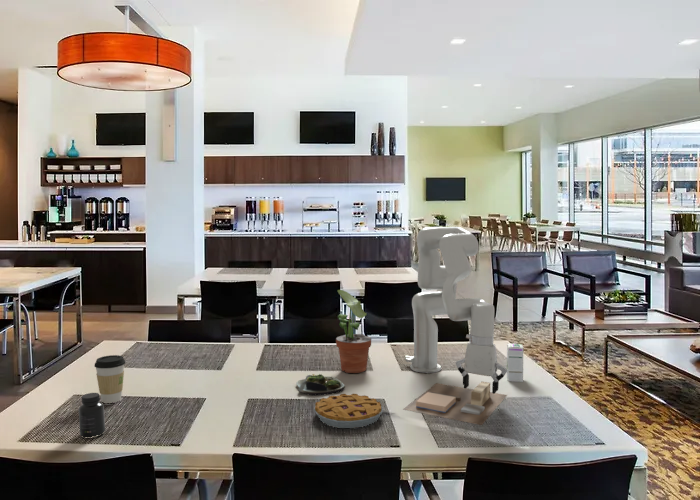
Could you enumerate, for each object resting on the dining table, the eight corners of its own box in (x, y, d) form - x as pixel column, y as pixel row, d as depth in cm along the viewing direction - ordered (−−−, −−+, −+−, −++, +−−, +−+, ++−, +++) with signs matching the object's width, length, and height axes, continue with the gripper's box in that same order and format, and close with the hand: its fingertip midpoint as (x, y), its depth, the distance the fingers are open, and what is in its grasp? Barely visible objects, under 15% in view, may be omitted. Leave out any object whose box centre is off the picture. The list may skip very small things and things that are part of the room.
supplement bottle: (85, 430, 169) (83, 391, 168) (108, 429, 170) (106, 390, 169) (76, 440, 162) (74, 399, 161) (100, 439, 163) (98, 398, 162)
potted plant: (328, 374, 223) (328, 287, 220) (343, 363, 237) (343, 281, 234) (365, 378, 218) (365, 289, 214) (378, 367, 232) (378, 283, 228)
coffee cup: (133, 398, 197) (131, 356, 195) (112, 407, 187) (110, 363, 186) (110, 394, 200) (108, 353, 199) (89, 404, 191) (87, 361, 189)
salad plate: (288, 382, 215) (287, 370, 215) (332, 377, 221) (332, 365, 221) (301, 398, 197) (300, 386, 196) (349, 392, 203) (349, 380, 202)
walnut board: (402, 413, 182) (402, 406, 182) (436, 386, 208) (436, 380, 208) (481, 429, 169) (481, 421, 169) (507, 399, 195) (507, 392, 195)
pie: (332, 437, 165) (332, 420, 164) (303, 412, 184) (303, 397, 184) (395, 423, 175) (395, 407, 174) (361, 401, 194) (361, 387, 194)
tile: (427, 397, 192) (416, 407, 184) (427, 392, 192) (416, 401, 184) (455, 402, 187) (445, 412, 179) (455, 397, 187) (445, 406, 179)
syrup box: (523, 385, 209) (524, 347, 208) (506, 384, 210) (507, 346, 209) (521, 381, 215) (522, 343, 213) (505, 380, 216) (506, 342, 215)
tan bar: (479, 415, 177) (479, 399, 176) (460, 411, 180) (460, 396, 179) (494, 397, 192) (494, 383, 192) (477, 394, 195) (477, 380, 195)
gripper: (453, 338, 188) (451, 388, 190) (505, 346, 179) (503, 398, 181) (460, 333, 194) (459, 381, 196) (510, 340, 186) (509, 390, 188)
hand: (480, 389), depth 189 cm, fingers open, 9 cm apart
